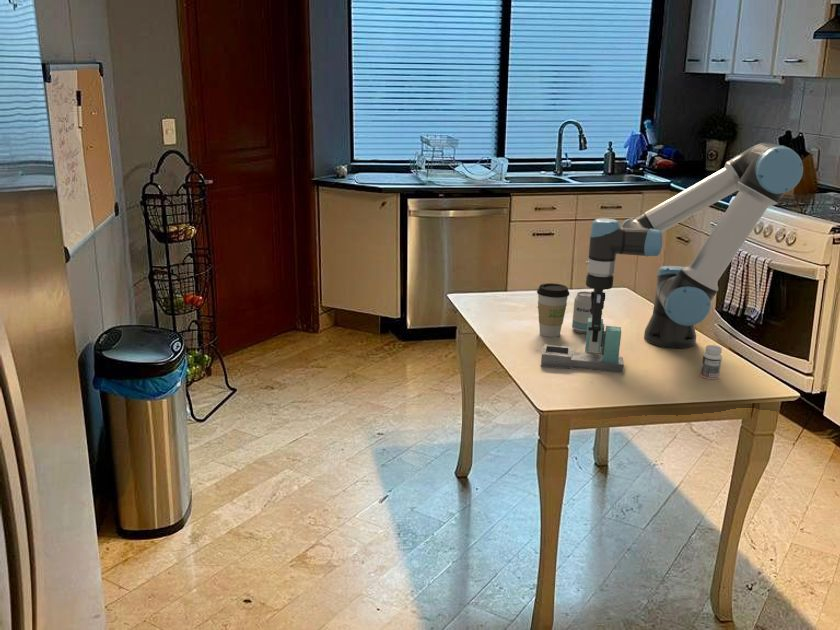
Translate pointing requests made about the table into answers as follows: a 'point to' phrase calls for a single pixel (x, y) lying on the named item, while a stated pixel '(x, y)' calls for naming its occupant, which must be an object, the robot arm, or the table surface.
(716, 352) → the pill bottle
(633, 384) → the table surface
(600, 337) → the block
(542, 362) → the grey and teal stand
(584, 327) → the beverage can
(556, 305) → the coffee cup
